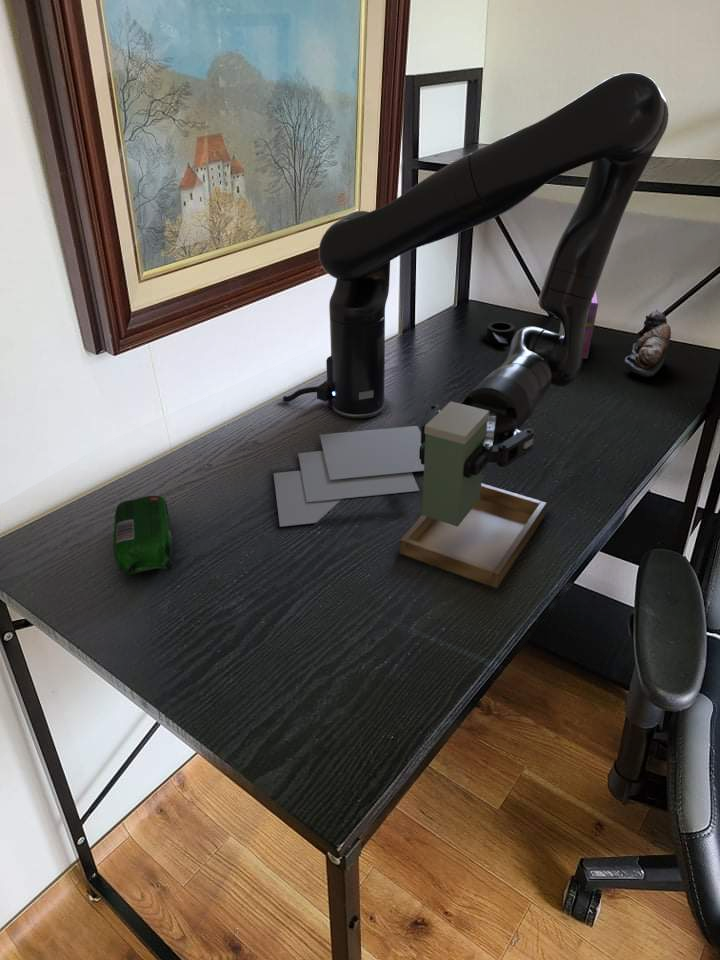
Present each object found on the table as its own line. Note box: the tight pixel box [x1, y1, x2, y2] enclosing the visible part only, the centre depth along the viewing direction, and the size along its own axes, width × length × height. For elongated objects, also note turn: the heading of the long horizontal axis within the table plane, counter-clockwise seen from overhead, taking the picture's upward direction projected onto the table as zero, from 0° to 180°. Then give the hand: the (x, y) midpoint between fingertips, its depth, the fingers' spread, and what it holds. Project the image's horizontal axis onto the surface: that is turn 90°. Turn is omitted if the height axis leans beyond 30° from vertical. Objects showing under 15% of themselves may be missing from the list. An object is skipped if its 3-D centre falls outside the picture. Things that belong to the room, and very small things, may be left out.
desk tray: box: [399, 482, 548, 589], centre depth 98 cm, size 14×18×2 cm
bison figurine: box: [624, 309, 672, 378], centre depth 140 cm, size 12×7×10 cm, turn 154°
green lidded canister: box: [421, 401, 489, 527], centre depth 83 cm, size 5×7×12 cm
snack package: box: [112, 495, 174, 576], centre depth 95 cm, size 7×16×5 cm, turn 15°
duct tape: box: [485, 320, 516, 346], centre depth 155 cm, size 8×10×3 cm
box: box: [558, 290, 599, 360], centre depth 148 cm, size 10×6×12 cm, turn 168°
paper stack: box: [273, 425, 424, 528], centre depth 112 cm, size 23×25×1 cm
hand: (445, 463), depth 81 cm, fingers closed on green lidded canister, 4 cm apart
